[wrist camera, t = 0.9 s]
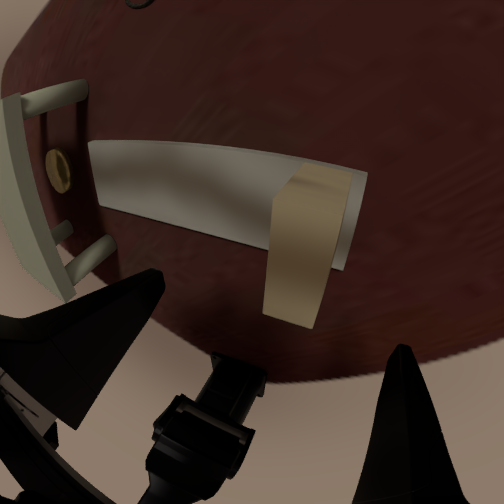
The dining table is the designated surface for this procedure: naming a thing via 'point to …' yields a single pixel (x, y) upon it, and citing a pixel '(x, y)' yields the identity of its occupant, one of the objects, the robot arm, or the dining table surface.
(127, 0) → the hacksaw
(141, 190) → the scraper
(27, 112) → the miniature white bench
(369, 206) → the dining table surface
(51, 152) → the token
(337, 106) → the dining table surface
